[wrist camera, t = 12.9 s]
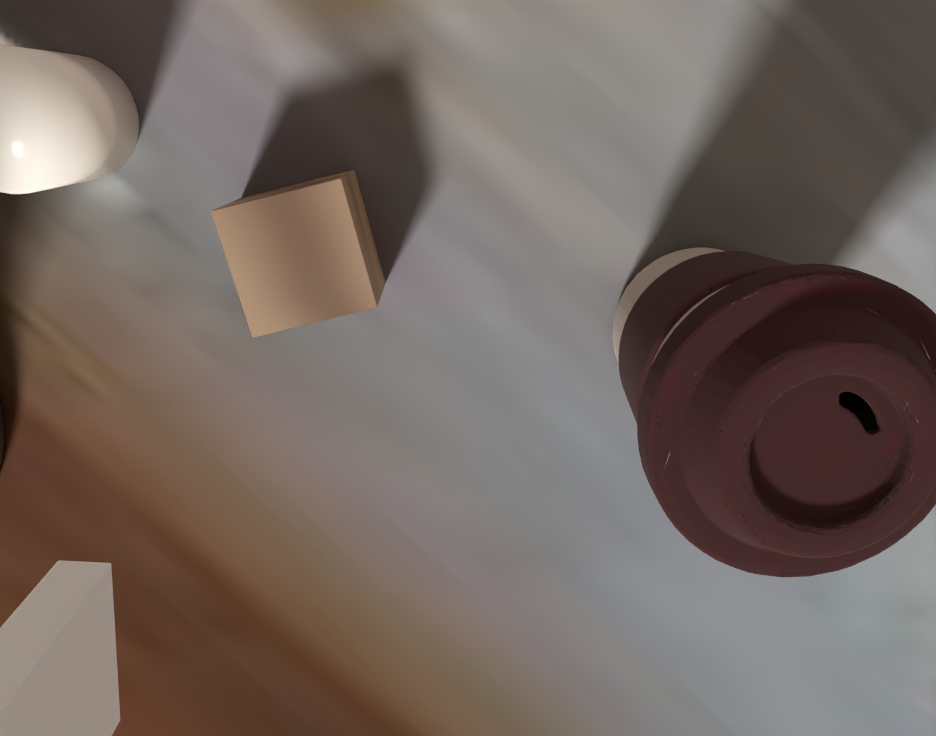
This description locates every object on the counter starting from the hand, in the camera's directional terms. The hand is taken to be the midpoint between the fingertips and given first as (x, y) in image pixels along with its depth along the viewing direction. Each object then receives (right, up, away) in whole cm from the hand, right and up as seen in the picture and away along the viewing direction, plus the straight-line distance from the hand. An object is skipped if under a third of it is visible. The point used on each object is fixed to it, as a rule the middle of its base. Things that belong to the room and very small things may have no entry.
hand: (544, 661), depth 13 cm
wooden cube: (-8, +10, +24) cm, 27 cm away
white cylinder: (-17, +15, +23) cm, 32 cm away
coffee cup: (+9, +6, +26) cm, 28 cm away
